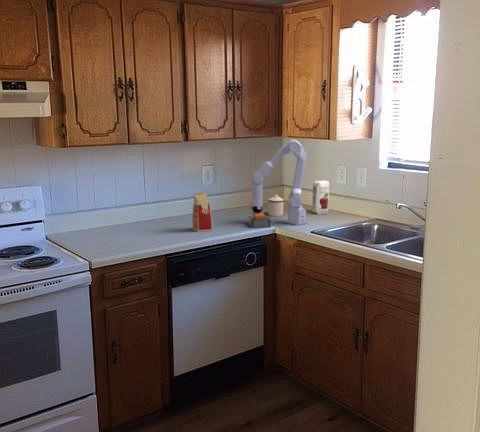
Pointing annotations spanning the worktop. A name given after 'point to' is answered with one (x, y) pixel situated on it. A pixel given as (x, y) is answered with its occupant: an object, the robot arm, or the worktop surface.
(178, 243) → the worktop surface
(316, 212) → the juice carton
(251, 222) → the coupler channel
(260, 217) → the block
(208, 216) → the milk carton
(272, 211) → the teacup with lid
